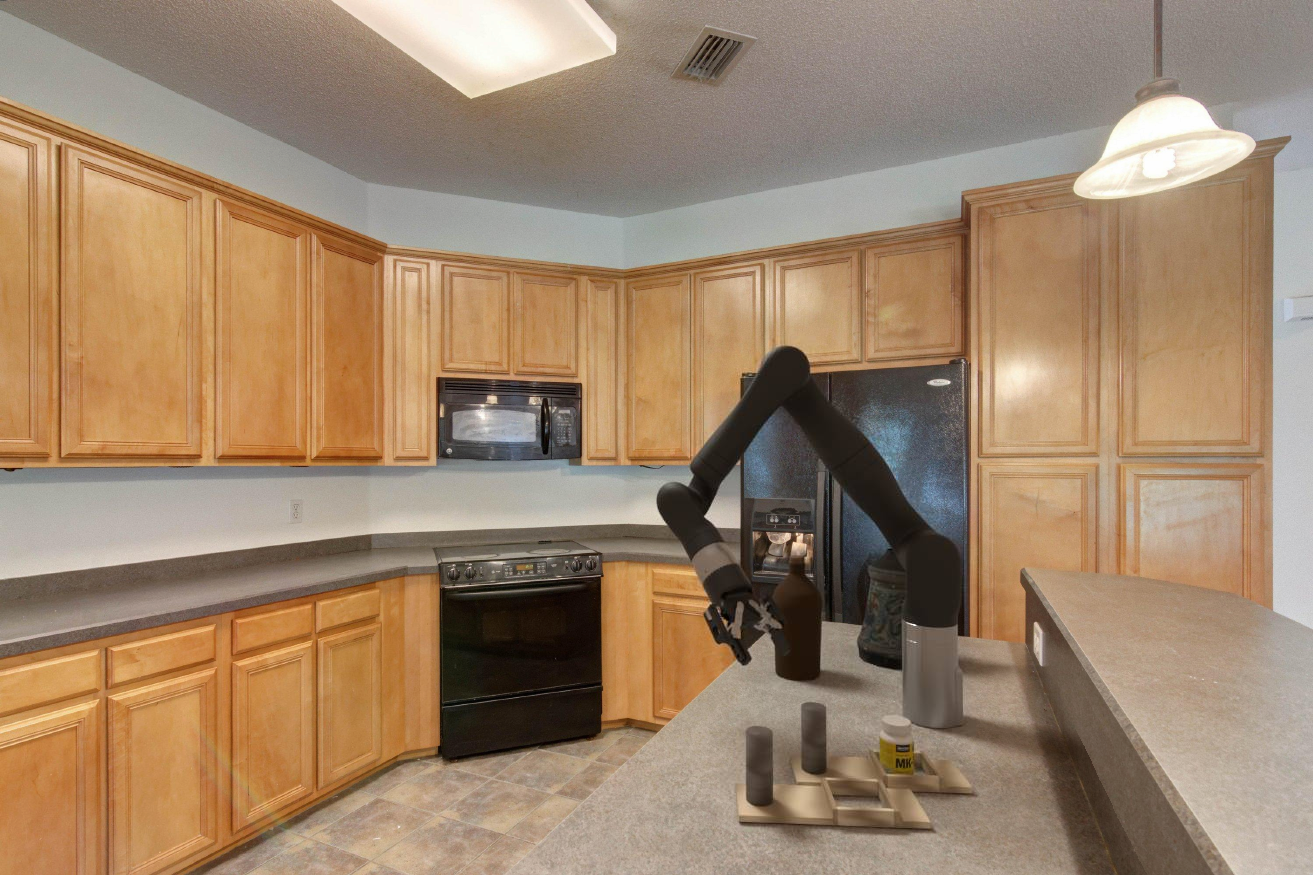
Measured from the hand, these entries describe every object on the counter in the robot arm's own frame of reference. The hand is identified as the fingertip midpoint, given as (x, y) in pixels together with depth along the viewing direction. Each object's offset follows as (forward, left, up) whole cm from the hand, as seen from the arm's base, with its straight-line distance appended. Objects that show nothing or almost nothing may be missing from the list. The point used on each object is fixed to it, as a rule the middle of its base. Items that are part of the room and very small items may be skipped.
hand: (767, 658), depth 104 cm
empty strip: (-6, +17, -15) cm, 23 cm away
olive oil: (-10, -36, -15) cm, 40 cm away
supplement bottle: (-18, +8, -15) cm, 24 cm away
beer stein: (-35, -48, -15) cm, 61 cm away
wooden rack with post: (-15, +8, -15) cm, 22 cm away
